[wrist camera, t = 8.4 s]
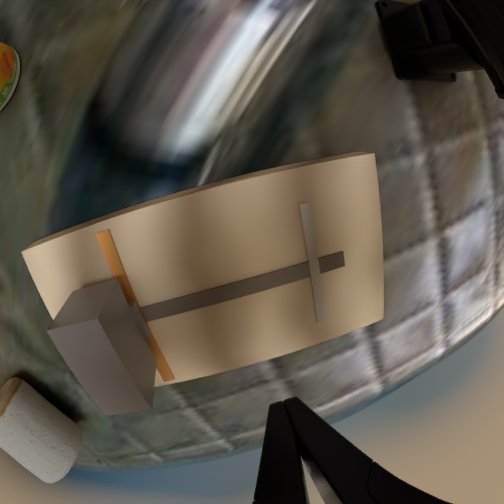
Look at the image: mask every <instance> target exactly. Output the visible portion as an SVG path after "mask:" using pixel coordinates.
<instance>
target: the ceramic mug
mask: <svg viewBox="0 0 504 504" xmlns="http://www.w3.org/2000/svg"><path fill="white" fill-rule="evenodd" d="M81 442H82V430H81V428H80V426H79V425H78V424H76V423H75V422H74V421H72V420H71V419H70V418H68V417H67V416H66V415H65V414H63V413H62V412H61V411H60V410H58V409H57V408H56V407H55V406H53V405H52V404H51V403H49V402H48V401H47V400H46V399H45V398H44V397H43V396H41V395H40V394H39V393H38V392H37V391H36V390H35V389H34V388H33V387H31V386H30V385H29V384H28V383H26V382H25V381H23V380H22V379H20V378H17V377H12V378H10V379H9V380H8V381H7V382H6V383H5V384H4V385H3V386H2V387H1V388H0V447H1V448H2V449H3V450H5V451H6V452H7V453H8V454H9V455H11V456H12V457H13V458H14V459H15V460H16V461H18V462H19V463H20V464H21V465H23V466H24V467H25V468H27V469H28V470H29V471H30V472H32V473H33V474H34V475H36V476H37V477H39V478H40V479H41V480H43V481H44V482H46V483H54V482H56V481H58V480H60V479H61V478H63V477H64V476H65V475H66V474H67V473H68V471H69V470H70V468H71V467H72V465H73V464H74V462H75V460H76V457H77V455H78V453H79V450H80V447H81Z"/></svg>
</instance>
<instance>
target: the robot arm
mask: <svg viewBox="0 0 504 504" xmlns="http://www.w3.org/2000/svg"><path fill="white" fill-rule="evenodd" d="M382 4H383V5H384V7H383V6H382ZM376 7H377V10H378V13H379V16H380V19H381V22H382V25H383V28H384V32H385V35H386V38H387V42H388V45H389V49H390V53H391V57H392V60H393V64H394V69H395V73H396V75H397V77H398V78H399V79H402V80H425V81H440V82H455V81H456V73H455V72H462V71H472V70H483V69H485V71H486V73H487V74H488V76H489V78H490V80H491V82H492V84H493V85H494V87H495V92H496V93H497V95H498V97H499V98H501V99H504V0H420V1H418V2H416V3H414V4H406V3H401V2H396V1H391V0H378V1H377V2H376ZM401 70H402V71H403V74H402V72H401ZM301 458H302V460H301ZM302 461H303V463H304V465H305V467H306V469H307V471H308V472H309V474H310V476H311V478H312V480H313V482H314V484H315V486H316V487H317V489H318V491H319V493H320V495H321V497H322V499H323V500H324V502H325V504H452V503H449V502H446V501H444V500H441V499H438V498H437V497H435V496H432V495H430V494H428V493H426V492H424V491H422V490H420V489H418V488H416V487H414V486H412V485H410V484H408V483H406V482H405V481H403V480H401V479H399V478H398V477H396V476H394V475H393V474H391V473H390V472H389V471H387V470H386V469H384V468H383V467H382V466H380V465H379V464H378V463H376V462H373V460H372V459H371V458H370V457H368V456H367V455H366V454H365V453H363V452H362V451H361V450H359V449H358V448H357V447H356V446H354V445H353V444H352V443H351V442H349V441H348V440H347V439H346V438H345V437H343V436H342V435H341V434H340V433H339V432H337V431H336V430H335V429H334V428H333V427H331V426H330V425H329V424H328V423H327V422H325V421H324V420H323V419H322V418H321V417H320V416H318V415H317V414H316V413H315V412H314V411H313V410H312V409H310V408H309V407H308V406H307V405H306V404H305V403H304V402H302V401H301V400H300V399H299V398H298V397H291V398H288V399H285V400H284V402H283V401H278V402H275V403H271V404H270V405H269V410H268V417H267V423H266V430H265V436H264V442H263V448H262V454H261V460H260V466H259V471H258V477H257V483H256V488H255V493H254V501H253V503H252V504H310V502H309V497H308V492H307V487H306V480H305V476H304V470H303V465H302Z"/></svg>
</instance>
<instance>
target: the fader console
mask: <svg viewBox="0 0 504 504" xmlns="http://www.w3.org/2000/svg"><path fill="white" fill-rule="evenodd" d="M22 254H23V257H24V259H25V262H26V264H27V266H28V269H29V271H30V273H31V276H32V278H33V280H34V282H35V284H36V287H37V289H38V291H39V293H40V295H41V297H42V299H43V301H44V303H45V305H46V307H47V309H48V311H49V313H50V315H51V317H52V318H53V320H54V318H55V317H56V315H57V314H58V312H59V311H60V309H61V308H62V306H63V305H64V303H65V302H66V300H67V299H68V297H69V296H70V294H71V293H72V292H73V291H75V290H79V289H82V288H85V287H89V286H92V285H96V284H99V283H103V282H106V281H110V280H113V279H118V282H119V284H120V287H121V289H122V291H123V294H124V296H125V298H126V300H127V303H130V302H134V301H136V303H137V306H138V308H139V310H140V312H141V314H142V317H143V319H144V321H145V323H146V325H147V327H148V330H149V332H150V334H151V336H150V339H148V340H146V342H147V344H148V346H149V348H150V350H151V352H152V354H153V356H154V358H155V360H156V362H157V365H156V374H155V385H154V387H157V386H163V385H168V384H173V383H177V382H182V381H187V380H191V379H196V378H200V377H205V376H209V375H213V374H217V373H221V372H225V371H229V370H233V369H237V368H240V367H244V366H248V365H251V364H255V363H259V362H262V361H265V360H269V359H272V358H276V357H279V356H282V355H285V354H288V353H292V352H295V351H298V350H301V349H304V348H307V347H310V346H313V345H316V344H319V343H322V342H325V341H327V340H330V339H333V338H336V337H338V336H341V335H344V334H347V333H349V332H352V331H354V330H357V329H360V328H362V327H365V326H367V325H370V324H372V323H375V322H377V321H380V320H382V319H383V311H384V264H383V238H382V221H381V208H380V196H379V186H378V177H377V169H376V161H375V154H374V153H369V152H360V151H357V152H351V153H345V154H339V155H334V156H328V157H323V158H318V159H313V160H308V161H303V162H298V163H293V164H288V165H284V166H279V167H275V168H270V169H266V170H261V171H257V172H253V173H249V174H245V175H241V176H236V177H232V178H229V179H225V180H221V181H217V182H213V183H209V184H206V185H202V186H198V187H195V188H191V189H187V190H184V191H180V192H177V193H174V194H170V195H167V196H163V197H160V198H157V199H153V200H150V201H147V202H144V203H141V204H137V205H134V206H131V207H128V208H125V209H122V210H119V211H116V212H113V213H110V214H107V215H104V216H101V217H99V218H96V219H93V220H90V221H87V222H84V223H82V224H79V225H76V226H74V227H71V228H68V229H66V230H63V231H60V232H58V233H55V234H53V235H50V236H47V237H45V238H42V239H40V240H37V241H35V242H34V243H32V244H31V245H30V246H28V247H27V248H26V249H25V250H23V251H22Z"/></svg>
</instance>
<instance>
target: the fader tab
mask: <svg viewBox="0 0 504 504" xmlns="http://www.w3.org/2000/svg"><path fill="white" fill-rule="evenodd" d="M47 332H48V334H49V336H50V337H51V339H52V341H53V343H54V344H55V346H56V347H57V349H58V351H59V352H60V354H61V355H62V357H63V359H64V360H65V362H66V363H67V365H68V366H69V368H70V369H71V371H72V372H73V374H74V375H75V377H76V378H77V379H78V381H79V382H80V384H81V385H82V386H83V388H84V389H85V391H86V392H87V393H88V395H89V396H90V397H91V399H92V400H93V401H94V402H95V404H96V405H97V406H98V408H99V409H100V410H101V411H102V413H103V414H104V415H105V416H108V415H117V414H125V413H133V412H140V411H147V410H152V408H153V396H154V385H155V374H156V365H157V362H156V360H155V358H154V356H153V354H152V352H151V350H150V348H149V346H148V344H147V342H146V340H148V339H150V336H151V334H150V332H149V330H148V327H147V325H146V323H145V321H144V319H143V317H142V314H141V312H140V310H139V308H138V306H137V303H136V301H134V302H130V303H127V300H126V298H125V296H124V294H123V291H122V289H121V287H120V284H119V282H118V279H113V280H110V281H106V282H103V283H99V284H96V285H92V286H89V287H85V288H82V289H79V290H75V291H73V292H72V293H71V294H70V296H69V297H68V299H67V300H66V302H65V303H64V305H63V306H62V308H61V309H60V311H59V312H58V314H57V315H56V317H55V318H54V320H53V321H52V323H51V324H50V326H49V327H48V329H47Z"/></svg>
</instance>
